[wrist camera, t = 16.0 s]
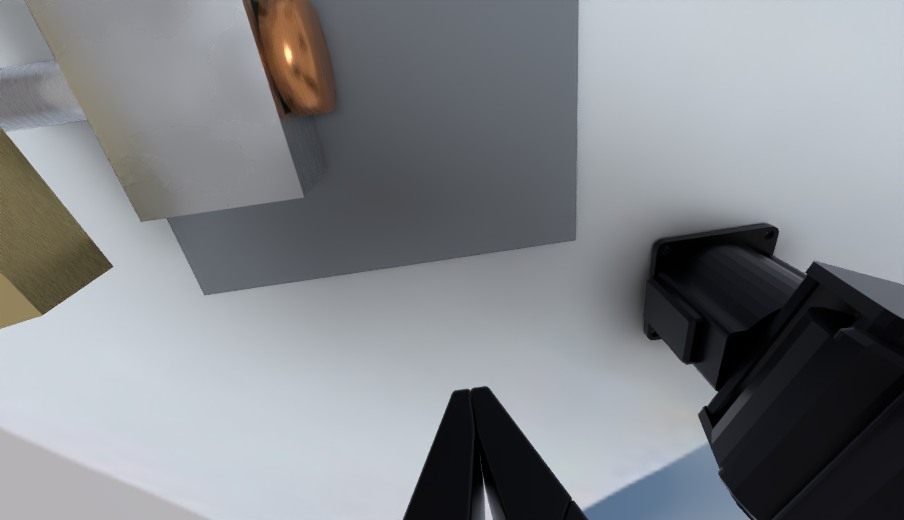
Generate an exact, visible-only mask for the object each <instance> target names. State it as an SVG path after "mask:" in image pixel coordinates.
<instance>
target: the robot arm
mask: <svg viewBox="0 0 904 520" xmlns="http://www.w3.org/2000/svg"><path fill="white" fill-rule="evenodd" d="M767 232H768V233H767ZM766 233H767V234H766ZM765 234H766V235H765ZM778 234H779V230H778V228H776V227H774V226H772V225H770V224H761V225H754V226H747V227H741V228H734V229H727V230H720V231H714V232H707V233H700V234H693V235H687V236H680V237H673V238H666V239H662V240H659V241H658V242H656V243H655V245H654V247H653V253H652V262H651V270H650V277H649V279H648V281H647V286H646V295H645V305H644V314H643V316H644V318H645V324H644V333H645V335H646V336H647V337H648V338H649V339H650V340H659V339H663V340H664V342H665V343H666V344H667V345H668V346H669V347H670V349H671V350H672V351H673V352H674V353H675V354H676V356H677V357H678V358H679V359H680V360H681V361H682V362H683V363H685V364H686V365H688V364H693V365H694V366H695V367H696V368H697V370H698V371H699V372H700V373H701V374H702V375H703V376H704V378H705V379H706V380H707V381H708V382H709V383H710V384H711V386H712V387H713V388H714V389H715V390H716V391H718V393H717V394H716V395H715V397H714V398H713V399H712V401H711V402H710V403H709V405H708V406H704V407H703V409H702V410H701V411H700V413H699V414H698V417H699V419H700V422H701V424H702V427H703V429H704V431H705V434H706V436H707V439H708V441H709V444H710V446H711V449H712V451H713V454H714V456H715V459H716V461H717V464H718V466H719V469H720V470H719V472H718V474H719V476H720V478H721V481H722V482H723V484H724V485H725V486H726V488H727V489H728V490H729V492H730V494H731V496H732V497H733V499H734V500H735V501H736V503H737V505H738V506H739V507H740V508H741V509H742V510H743V512H744V513H745V514H746V515H747V516H748V517H749V518H750V519H751V520H904V285H902V284H899V283H895V282H891V281H887V280H884V279H880V278H876V277H873V276H869V275H865V274H861V273H858V272H854V271H850V270H846V269H843V268H839V267H835V266H832V265H828V264H824V263H820V262H817V261H814V262H813V263H812V264H811V266H810V267H809V268H808V270H807V271H806V272H805V273H806V274H807V275H806V274H805V273H803V272H801V271H799V270H797V269H796V268H794V267H792V266H790V265H789V264H787V263H785V262H783V261H782V260H780V259H778V258H776V257H775V256H773V253H774V249H775V245H776V242H777V238H778ZM666 246H667V248H666V249H665V250H664V251H662V249H663V248H664V247H666ZM661 251H662V252H661ZM654 330H655V331H654ZM653 331H654V332H653ZM471 396H472V397H471ZM472 403H473V404H472ZM480 459H481V460H480ZM481 466H482V467H481ZM482 473H483V474H482ZM483 479H484V483H483ZM484 485H485V490H486V494H487V498H488V502H489V506H490V510H491V513H492V517H493V520H588V518H587V517H586V516H585V514H584V513H583V512H582V511H581V509H580V508H579V507H578V505H577V504H576V503H575V501H572V498H571V496H570V495H569V494H568V492H567V491H566V490H565V488H564V487H563V486H562V484H561V483H560V482H559V480H558V479H557V478H556V476H555V475H554V474H553V472H552V471H551V470H550V468H549V467H548V466H547V464H546V463H545V462H544V460H543V459H542V458H541V456H540V455H539V454H538V452H537V451H536V450H535V448H534V447H533V446H532V444H531V443H530V442H529V440H528V439H527V438H526V436H525V435H524V434H523V432H522V431H521V430H520V428H519V427H518V426H517V424H516V423H515V422H514V420H513V419H512V418H511V416H510V415H509V414H508V412H507V411H506V410H505V408H504V407H503V406H502V404H501V403H500V402H499V400H498V399H497V398H496V397H495V395H494V394H493V393H492V391H491V390H490V389H489V388H488V387H487V386H483V387H476V388H472V389H471V391H470V390H469V389H462V390H455V391H454V392H453V393H452V395H451V398H450V400H449V403H448V405H447V408H446V410H445V413H444V415H443V418H442V421H441V423H440V426H439V428H438V431H437V433H436V436H435V438H434V441H433V444H432V446H431V449H430V451H429V454H428V456H427V459H426V462H425V464H424V467H423V469H422V472H421V474H420V477H419V479H418V482H417V485H416V487H415V490H414V492H413V495H412V497H411V500H410V502H409V505H408V508H407V510H406V513H405V515H404V518H403V520H485V500H484Z"/></svg>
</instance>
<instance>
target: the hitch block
mask: <svg viewBox="0 0 904 520" xmlns="http://www.w3.org/2000/svg"><path fill="white" fill-rule="evenodd" d="M25 2H26V4H27V6H28V8H29V10H30V12H31V14H32V16H33V18H34V19H35V21H36V23H37V25H38V27H39V29H40V31H41V33H42V35H43V37H44V38H45V40H46V42H47V44H48V46H49V48H50V50H51V52H52V54H53V56H54V57H55V59H56V61H57V63H58V65H59V67H60V69H61V71H62V73H63V75H64V76H65V78H66V80H67V82H68V84H69V86H70V88H71V90H72V92H73V93H74V95H75V97H76V99H77V101H78V103H79V105H80V107H81V109H82V111H83V112H84V114H85V116H86V118H87V120H88V122H89V124H90V126H91V128H92V130H93V131H94V133H95V135H96V137H97V139H98V141H99V143H100V145H101V147H102V149H103V150H104V152H105V154H106V156H107V158H108V160H109V162H110V164H111V166H112V168H113V169H114V171H115V173H116V175H117V177H118V179H119V181H120V183H121V185H122V187H123V188H124V190H125V192H126V194H127V196H128V198H129V200H130V202H131V204H132V206H133V207H134V209H135V211H136V213H137V215H138V217H139V219H140V221H141V222H142V221H149V220H156V219H162V218H169V217H176V216H183V215H189V214H196V213H203V212H210V211H216V210H223V209H230V208H237V207H243V206H250V205H257V204H263V203H270V202H277V201H284V200H290V199H297V198H304V197H305V196H306V195H307V193H308V192H309V191H310V190H311V189H312V187H313V186H314V185H315V184H316V183H317V181H318V180H319V179H320V178H321V176H322V175H323V174H324V173H325V172H326V170H327V169H328V167H327V163H326V159H325V156H324V152H323V149H322V145H321V141H320V138H319V134H318V130H317V127H316V123H315V120H314V116H313V115H307V116H297V115H295V114H294V113H293V112H292V111H291V110H290V109H289V107H288V106H287V105H286V103H285V101H284V100H283V98H282V96H281V94H280V92H278V89H277V86H276V83H275V81H274V79H273V76H272V73H271V71H270V68H269V65H268V62H267V59H266V55H265V52H264V48H263V44H262V39H261V34H260V31H259V30H260V28H259V20H258V4H259V0H25Z"/></svg>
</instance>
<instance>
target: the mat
mask: <svg viewBox="0 0 904 520" xmlns="http://www.w3.org/2000/svg"><path fill="white" fill-rule="evenodd" d="M310 1H311V3H312V5H313V7H314V9H315V11H316V13H317V16H318V19H319V21H320V24H321V27H322V30H323V33H324V36H325V39H326V43H327V47H328V50H329V54H330V59H331V63H332V68H333V73H334V80H335V88H336V106H335V109H334V111H333V112H327V113H320V114H313V116H314V120H315V123H316V127H317V130H318V134H319V138H320V141H321V145H322V149H323V152H324V156H325V159H326V163H327V167H328V169H327V170H326V172H325V173H324V174H323V175H322V176H321V178H320V179H319V180H318V181H317V183H316V184H315V185H314V186H313V187H312V189H311V190H310V191H309V192H308V193H307V195H306V196H305V197H304V198H297V199H290V200H284V201H277V202H270V203H263V204H257V205H250V206H243V207H237V208H230V209H223V210H216V211H210V212H203V213H196V214H189V215H183V216H176V217H169V218H167V220H168V222H169V224H170V226H171V228H172V230H173V232H174V234H175V236H176V238H177V240H178V242H179V244H180V246H181V248H182V250H183V253H184V255H185V257H186V259H187V261H188V263H189V265H190V267H191V269H192V271H193V273H194V275H195V277H196V279H197V281H198V283H199V285H200V287H201V289H202V291H203V293H204V295H209V294H216V293H223V292H229V291H236V290H243V289H250V288H256V287H263V286H270V285H277V284H283V283H290V282H297V281H303V280H310V279H317V278H324V277H330V276H337V275H344V274H351V273H357V272H364V271H371V270H378V269H384V268H391V267H398V266H405V265H411V264H418V263H425V262H432V261H438V260H445V259H452V258H459V257H465V256H472V255H479V254H485V253H492V252H499V251H506V250H512V249H519V248H526V247H533V246H539V245H546V244H553V243H560V242H566V241H573V240H576V161H577V81H578V0H310Z"/></svg>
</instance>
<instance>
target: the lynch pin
mask: <svg viewBox="0 0 904 520" xmlns="http://www.w3.org/2000/svg"><path fill="white" fill-rule="evenodd" d="M258 20H259V28H260V30H259V31H260V34H261V39H262V44H263V48H264V52H265V55H266V59H267V62H268V65H269V68H270V71H271V73H272V76H273V79H274V81H275V83H276V86H277V89H278V92H280V94H281V96H282V98H283V100H284V101H285V103H286V105H287V106H288V107H289V109H290V110H291V111H292V112H293V113H294V114H295V115H297V116H307V115H313V114H320V113H327V112H333V111H334V109H335V106H336V88H335V80H334V73H333V68H332V63H331V59H330V54H329V50H328V47H327V43H326V39H325V36H324V33H323V30H322V27H321V24H320V21H319V19H318V16H317V13H316V11H315V9H314V7H313V5H312V3H311V1H310V0H259V4H258ZM83 120H87V118H86V116H85V114H84V112H83V111H82V109H81V107H80V105H79V103H78V101H77V99H76V97H75V95H74V93H73V92H72V90H71V88H70V86H69V84H68V82H67V80H66V78H65V76H64V75H63V73H62V71H61V69H60V67H59V65H58V63H57V61H56V60H52V61H45V62H39V63H32V64H25V65H18V66H11V67H5V68H0V127H1V128H2V129H3V131H4V132H9V131H16V130H22V129H29V128H36V127H43V126H49V125H56V124H63V123H70V122H76V121H83Z"/></svg>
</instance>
